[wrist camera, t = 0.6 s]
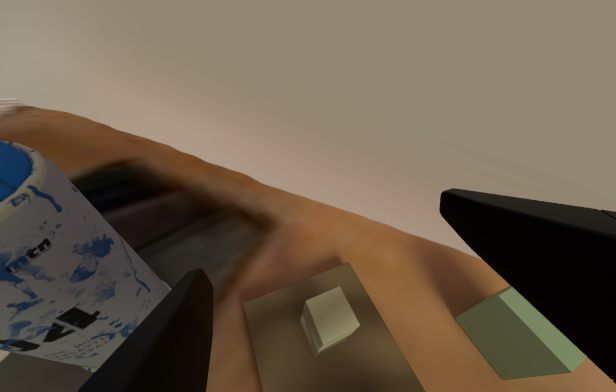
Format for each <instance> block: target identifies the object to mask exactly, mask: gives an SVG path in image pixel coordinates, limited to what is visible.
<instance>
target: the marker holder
mask: <svg viewBox="0 0 616 392" xmlns="http://www.w3.org/2000/svg"><path fill="white" fill-rule="evenodd" d="M243 305H244V310H245V314H246V319H247V323H248V327H249V332H250V336H251V341H252V345H253V350H254V354H255V358H256V363H257V367H258V372H259V376H260V380H261V385H262V389H263V392H425V391H424V389H423V387H422V385H421V384H420V382H419V380H418V379H417V377H416V375H415V374H414V372H413V370H412V368H411V367H410V365H409V363H408V362H407V360H406V358H405V357H404V355H403V353H402V352H401V350H400V348H399V346H398V345H397V343H396V341H395V340H394V338H393V336H392V335H391V333H390V331H389V329H388V328H387V326H386V324H385V323H384V321H383V319H382V318H381V316H380V314H379V312H378V311H377V309H376V307H375V306H374V304H373V302H372V301H371V299H370V297H369V295H368V294H367V292H366V290H365V289H364V287H363V285H362V284H361V282H360V280H359V278H358V277H357V275H356V273H355V272H354V270H353V268H352V267H351V265H350V263H349V262H348V263H345V264H342V265H340V266H337V267H335V268H332V269H330V270H327V271H325V272H322V273H319V274H317V275H314V276H312V277H309V278H307V279H304V280H301V281H299V282H296V283H294V284H291V285H289V286H286V287H284V288H281V289H278V290H276V291H273V292H271V293H268V294H266V295H263V296H260V297H258V298H255V299H253V300H250V301H248V302H245V303H243Z"/></svg>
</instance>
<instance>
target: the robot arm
mask: <svg viewBox="0 0 616 392" xmlns="http://www.w3.org/2000/svg"><path fill="white" fill-rule="evenodd" d="M440 213H441V215H442V217H443V218H444V219H445V220H446V221H447V222H448V224H449V225H450V226H451V227H452V228H453V229H454V230H455V231H456V233H457V234H458V235H459V236H460V237H461V238H462V239H463V240H464V241H465V242H466V244H467V245H468V246H469V247H470V248H471V249H472V250H473V251H474V252H476V254H477V255H478V256H480V257H481V258H482V259H483V260H484V261H485V262H486V263H487V264H488V265H489V266H490V267H491V268H492V269H493V270H495V271H496V272H497V273H498V274H499V275H500V276H501V277H502V278H503V279H504V280H505V281H506V282H507V283H508V284H510V285H511V286H512V287H513V288H514V289H515V290H516V291H517V292H518V293H519V294H520V295H521V296H522V297H523V298H525V299H526V300H527V301H528V302H529V303H530V304H531V305H532V306H533V307H534V308H535V309H536V310H537V311H539V312H540V313H541V314H542V315H543V316H544V317H545V318H546V319H547V320H548V321H549V322H550V323H551V324H552V325H554V326H555V327H556V328H557V329H558V330H559V331H560V332H561V333H562V334H563V335H564V336H565V337H566V338H567V339H569V340H570V341H571V342H572V343H573V344H574V345H575V346H576V347H577V348H578V349H579V350H580V351H581V352H582V353H584V354H585V355H586V356H587V357H588V358H589V359H590V360H591V361H592V362H593V363H594V364H595V365H596V366H597V367H599V368H600V369H601V370H602V371H603V372H604V373H605V374H606V375H607V376H608V377H609V378H610V379H612V380H613V382H614V383H615V384H616V212H613V211H606V210H597V209H591V208H585V207H578V206H572V205H564V204H558V203H550V202H544V201H537V200H530V199H523V198H517V197H510V196H502V195H496V194H489V193H482V192H475V191H468V190H462V189H449V190H446V191H443V192H442V194H441V199H440ZM213 292H214V291H213V285H212V283H211V282H210V280H209V278H208V277H207V275H206V274H205V272H204V271H203V270H202V269H200V268H199V269H196V270H193V271H190V272H188V273H187V274H186V275H185V276H184V277H183V278H182V279H181V280H180V281H179V282H178V283H177V284H176V285H175V287H174V288H173V289H172V290H171V291H170V292H169V293H168V294H167V295H166V296H165V297H164V298H163V299H162V301H161V302H160V303H159V304H158V305H157V306H156V307H155V308H154V309H153V310H152V311H151V312H150V313H149V315H148V316H147V317H146V318H145V319H144V320H143V321H142V322H141V323H140V324H139V325H138V326H137V327H136V329H135V330H134V331H133V332H132V333H131V334H130V335H129V336H128V337H127V338H126V339H125V340H124V341H123V342H122V344H121V345H120V346H119V347H118V348H117V349H116V350H115V351H114V352H113V353H112V354H111V355H110V356H109V358H108V359H107V360H106V361H105V362H104V363H103V364H102V365H101V366H100V367H99V368H98V369H97V370H96V372H95V373H94V374H93V375H92V376H91V377H90V378H89V379H88V380H87V381H86V382H85V383H84V384H83V385H82V387H81V388H80V389H79V391H78V392H206V387H207V379H208V371H209V362H210V354H211V346H212V337H213Z"/></svg>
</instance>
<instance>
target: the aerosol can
mask: <svg viewBox="0 0 616 392" xmlns="http://www.w3.org/2000/svg"><path fill="white" fill-rule="evenodd" d="M171 290H172V289H171V288H170V287H169V285H168V284H167V283H166V282H164V281H162V280H160V279H159V278H158V276H157V275H156V274H155V273H154V272H153V271H152V270H151V269H150V268H149V267H148V266H147V264H146V263H145V262H144V261H143V260H142V259H141V258H140V257H139V256H138V255H137V254H136V253H135V251H134V250H133V249H132V248H131V247H130V246H129V245H128V244H127V243H126V242H125V241H124V239H123V238H122V237H121V236H120V235H119V234H118V233H117V232H116V231H115V230H114V229H113V227H112V226H111V225H110V224H109V223H108V222H107V221H106V220H105V219H104V218H103V217H102V216H101V214H100V213H99V212H98V211H97V210H96V209H95V208H94V207H93V206H92V205H91V204H90V202H89V201H88V200H87V199H86V198H85V197H84V196H83V195H82V194H81V193H80V192H79V190H78V189H77V188H76V187H75V186H74V185H73V184H72V183H71V182H70V181H69V180H68V179H67V177H66V176H65V175H64V174H63V173H62V172H61V171H60V170H59V169H58V168H57V167H56V165H55V164H54V163H53V162H52V161H50V160H48V159H46V158H43V157H42V156H41V155H40V153H39V152H37V151H35V150H33V149H31V148H29V147H26V146H24V145H22V144H19V143H15V142H7V141H0V350H4V351H9V352H14V353H19V354H24V355H29V356H34V357H38V358H43V359H48V360H53V361H58V362H63V363H68V364H73V365H78V366H81V367H83V368H84V369H86V370H87V371H91V372H96V370H97V369H98V368H99V367H100V366H101V365H102V364H103V363H104V362H105V361H106V360H107V359H108V358H109V356H110V355H111V354H112V353H113V352H114V351H115V350H116V349H117V348H118V347H119V346H120V345H121V344H122V342H123V341H124V340H125V339H126V338H127V337H128V336H129V335H130V334H131V333H132V332H133V331H134V330H135V329H136V327H137V326H138V325H139V324H140V323H141V322H142V321H143V320H144V319H145V318H146V317H147V316H148V315H149V313H150V312H151V311H152V310H153V309H154V308H155V307H156V306H157V305H158V304H159V303H160V302H161V301H162V299H163V298H164V297H165V296H166V295H167V294H168V293H169V292H170V291H171Z"/></svg>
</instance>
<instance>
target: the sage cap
mask: <svg viewBox="0 0 616 392" xmlns="http://www.w3.org/2000/svg"><path fill="white" fill-rule="evenodd" d="M454 319H455V320H456V321H457V323H458V324H459V325H460V326H461V328H462V329H463V330H464V331H465V333H466V334H467V335H468V337H469V338H470V339H471V340H472V342H473V343H474V344H475V346H476V347H477V348H478V349H479V351H480V352H481V353H482V354H483V356H484V357H485V358H486V360H487V361H488V362H489V363H490V365H491V366H492V367H493V369H494V370H495V371H496V372H497V374H498V375H499V376H500V377H501V379H502V380H509V379H518V378H526V377H535V376H544V375H552V374H561V373H570V372H573V371H574V370H575V368H576V367H577V366H578V365H579V364H580V363H581V362H582V361H583V360H584V359H585V358H586V357H587V356H586V355H585V354H584V353H582V352H581V351H580V350H579V349H578V348H577V347H576V346H575V345H574V344H573V343H572V342H571V341H570V340H569V339H567V338H566V337H565V336H564V335H563V334H562V333H561V332H560V331H559V330H558V329H557V328H556V327H555V326H554V325H552V324H551V323H550V322H549V321H548V320H547V319H546V318H545V317H544V316H543V315H542V314H541V313H540V312H539V311H537V310H536V309H535V308H534V307H533V306H532V305H531V304H530V303H529V302H528V301H527V300H526V299H525V298H523V297H522V296H521V295H520V294H519V293H518V292H517V291H516V290H515V289H514V288H513V287H512V286H509V287H507V288H505V289H503V290H501V291H499V292H497V293H495V294H493V295H491V296H489V297H487V298H486V299H484V300H482V301H481V302H479V303H477V304H476V305H474V306H473V307H471V308H469V309H468V310H466V311H464V312H463V313H461V314H460V315H458V316H456V317H455V318H454Z"/></svg>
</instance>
